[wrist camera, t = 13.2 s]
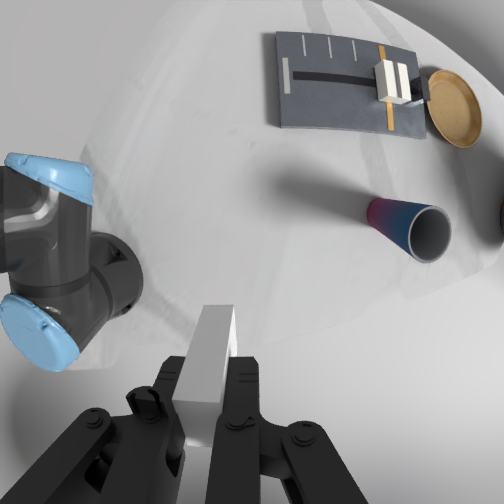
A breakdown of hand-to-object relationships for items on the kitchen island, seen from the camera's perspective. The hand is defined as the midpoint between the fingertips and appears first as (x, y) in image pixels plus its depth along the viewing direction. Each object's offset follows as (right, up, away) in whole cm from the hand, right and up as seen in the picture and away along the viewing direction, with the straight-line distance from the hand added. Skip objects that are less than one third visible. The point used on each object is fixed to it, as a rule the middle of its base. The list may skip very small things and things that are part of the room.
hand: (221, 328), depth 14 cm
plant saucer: (+38, +30, +22) cm, 53 cm away
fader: (+22, +30, +19) cm, 42 cm away
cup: (+22, +10, +28) cm, 37 cm away
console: (+18, +30, +22) cm, 41 cm away
